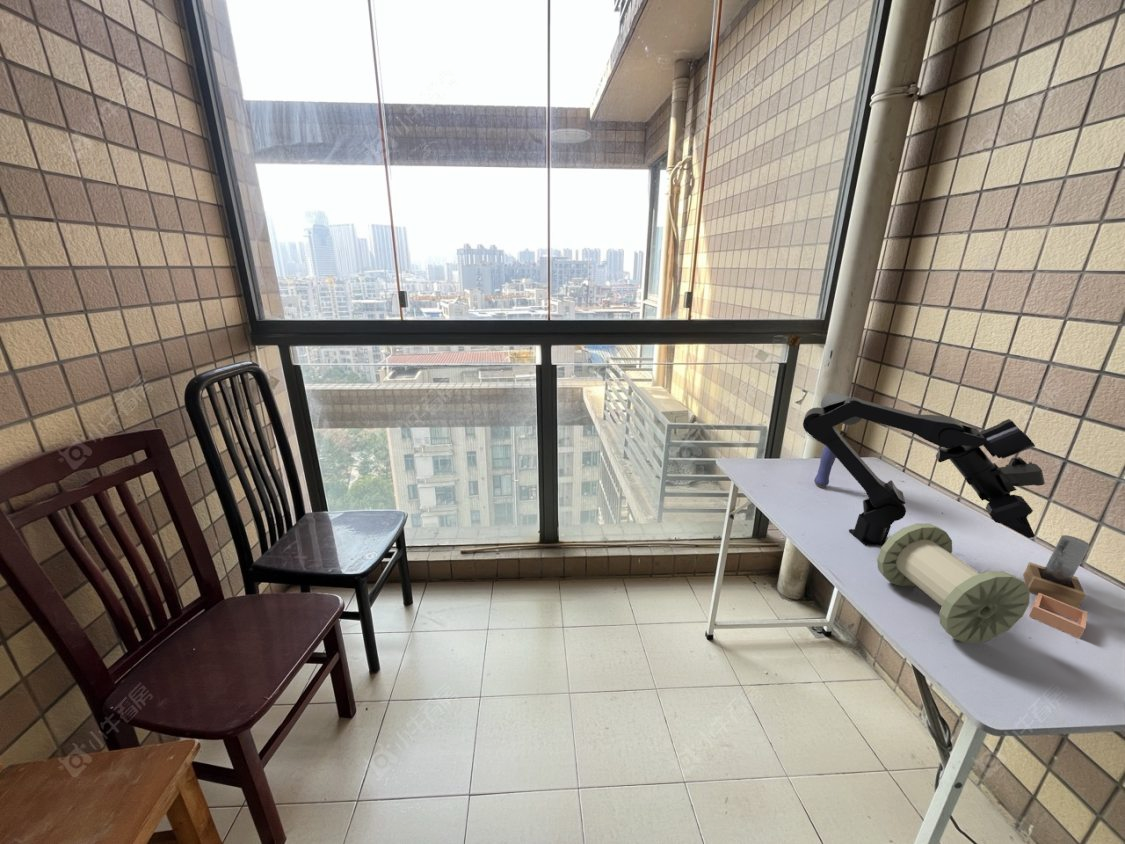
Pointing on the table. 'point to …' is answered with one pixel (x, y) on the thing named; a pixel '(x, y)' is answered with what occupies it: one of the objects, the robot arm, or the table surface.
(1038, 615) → the socket block
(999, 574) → the spool
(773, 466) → the table surface
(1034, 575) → the wooden square frame
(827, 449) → the rubber mallet
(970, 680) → the table surface
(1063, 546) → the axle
